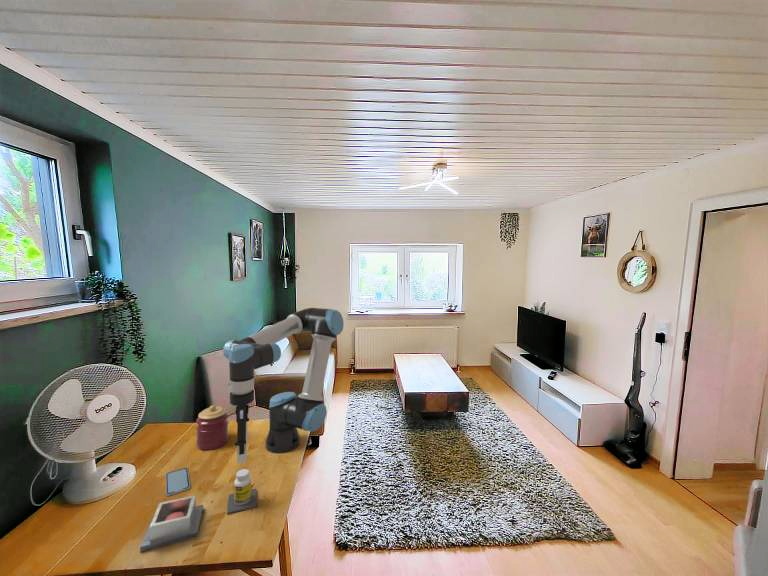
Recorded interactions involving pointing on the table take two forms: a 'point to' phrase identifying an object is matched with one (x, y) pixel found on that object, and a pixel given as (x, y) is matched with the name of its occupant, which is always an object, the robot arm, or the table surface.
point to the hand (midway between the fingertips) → (242, 450)
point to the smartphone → (177, 481)
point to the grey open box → (173, 523)
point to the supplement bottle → (242, 487)
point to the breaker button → (175, 516)
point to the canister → (212, 428)
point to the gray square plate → (236, 508)
